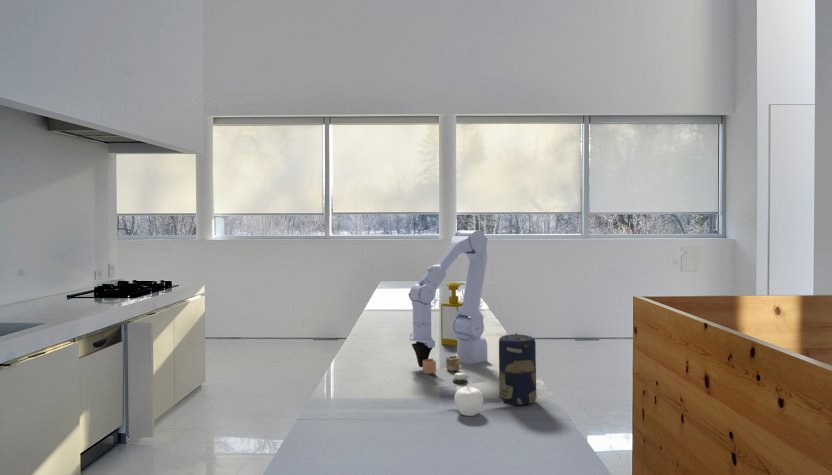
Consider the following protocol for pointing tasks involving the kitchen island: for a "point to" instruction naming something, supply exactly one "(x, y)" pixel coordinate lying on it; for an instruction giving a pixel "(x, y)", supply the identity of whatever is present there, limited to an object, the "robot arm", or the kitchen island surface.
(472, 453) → the kitchen island surface
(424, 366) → the terracotta knob
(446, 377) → the panel
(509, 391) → the canister
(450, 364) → the oak knob
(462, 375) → the button
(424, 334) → the robot arm
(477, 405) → the plain white apple
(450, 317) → the soap bottle
